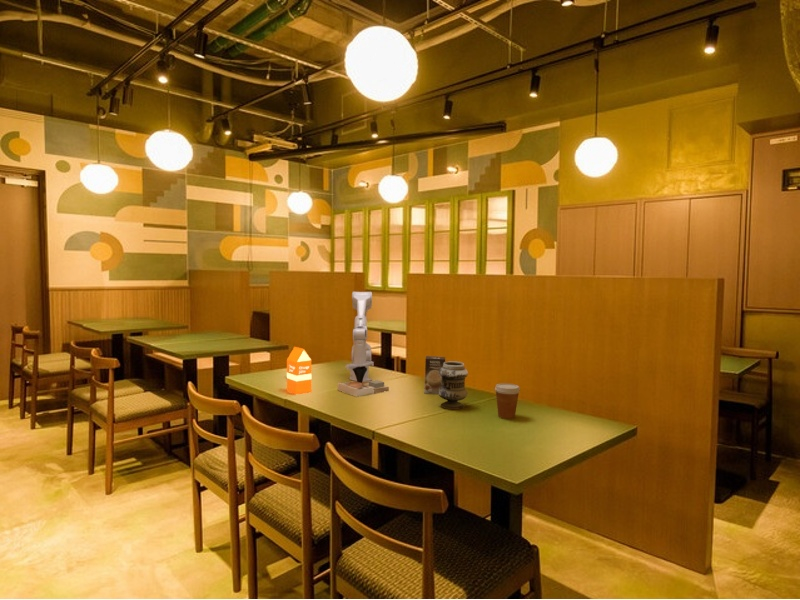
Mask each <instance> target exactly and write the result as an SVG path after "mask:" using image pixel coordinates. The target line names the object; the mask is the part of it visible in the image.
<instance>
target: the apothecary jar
mask: <svg viewBox="0 0 800 600" xmlns="http://www.w3.org/2000/svg"><path fill="white" fill-rule="evenodd" d="M439 374H440V376H441V377H442V385H441V387H440V389H439V390H438V394H437V395H439V397H440V398H442V399H443V400H446V401H444V402H441V403H440V407H441V408H443V409H445V410H460V409H464V408H465V404H464V403H461V402H460V401H462V400H464V399H466V398H467V396H468V390H467V389H466V382H465V381H466V378H467V377H468V375H469V372H468V370H467V368H465V363H463V362H462V361H453V360H451V361H450V360H449V361H445V362H444V363H443V367H442V368H441V369H440V370H439Z"/></svg>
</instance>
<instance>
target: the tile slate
mask: <svg viewBox="0 0 800 600" xmlns="http://www.w3.org/2000/svg"><path fill="white" fill-rule="evenodd" d="M369 381H370V382H369V386H371V387H374V388H379V387H384V385H385V381H381V380H378V379H377V380H369Z"/></svg>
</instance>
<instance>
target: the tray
mask: <svg viewBox="0 0 800 600" xmlns="http://www.w3.org/2000/svg"><path fill="white" fill-rule="evenodd" d="M351 382H354V380H352V381H347V382H346V381H345V382H337V391H338V390H339V391H338V392H341V391H342V392H341V393H344V394H346V393H347V395H349V394H350V395H349V396H352V395H353V397H355V398H359V396H360V397H364V395H365V396H369V395H375V393H374V390H373V387H370V388H366V387H363V386H362V387H361V388H359V389H356V388H353V387H350V386H347V384H349V383H351Z"/></svg>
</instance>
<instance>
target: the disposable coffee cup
mask: <svg viewBox="0 0 800 600" xmlns="http://www.w3.org/2000/svg"><path fill="white" fill-rule="evenodd" d="M494 390H495V394H496V396H495V398H496V405H497V406H496V407H497V416H498V417H499V418H500V417H501V418H500V419H503V418H506V419H505V420H512V419H511V418H513V419H515V418H516V412H517V408H518V407H517V406H518V400H519V394H520V391H521V389H520V386H519V385H517V384H514V383H504V382H503V383H498V384H495V388H494Z"/></svg>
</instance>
